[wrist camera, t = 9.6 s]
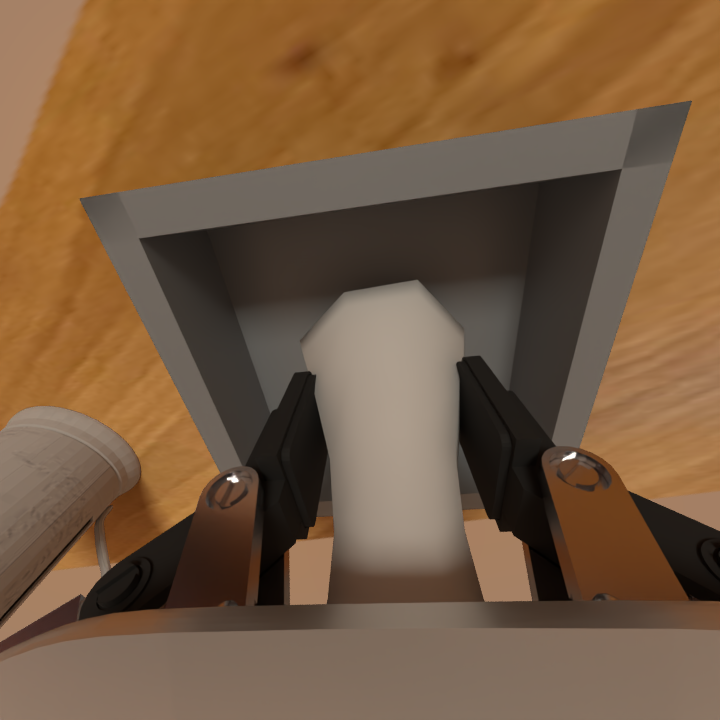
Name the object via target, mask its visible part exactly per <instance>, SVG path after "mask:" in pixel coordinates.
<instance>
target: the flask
mask: <svg viewBox="0 0 720 720" xmlns="http://www.w3.org/2000/svg"><path fill="white" fill-rule="evenodd" d="M300 344H301V348H302V352H303V356H304V359H305V363H306V366H307V369H308V371H310V372H311V373H312V375H315V374H316V382H315V393H314V394H315V398H316V402H317V407H318V411H319V415H320V419H321V423H322V428H323V432H324V436H325V440H326V445H327V449H328V453H329V457H330V470H331V487H332V504H333V521H334V541H333V552H332V561H331V573H330V582H329V593H328V600H327V604H374V603H437V602H485V601H484V599H483V595H482V592H481V588H480V585H479V581H478V577H477V574H476V570H475V566H474V563H473V559H472V556H471V552H470V548H469V545H468V541H467V537H466V534H465V529H464V521H463V513H462V504H461V496H460V488H459V479H458V471H457V470H458V453H459V436H460V378H459V374H458V370H457V366H456V363H457V362H458V361H461V360H462V358H463V357H464V328H463V327H462V326H461V324H460V323H459V322H458V321H457V320H456V319H455V318H454V317H453V316H452V315H451V314H450V313H449V312H448V311H447V310H446V309H445V308H444V307H443V306H442V305H441V304H440V303H439V302H438V301H437V299H436V298H435V297H434V296H433V295H432V294H431V293H430V292H429V291H428V290H427V289H426V288H425V287H424V286H423V285H422V284H421V283H420V282H419V281H418V280H413V281H407V282H401V283H395V284H389V285H383V286H378V287H372V288H366V289H360V290H354V291H348V292H344V293H343V294H342V295H341V296H340V297H339V298H338V299H337V300H336V301H335V302H334V304H333V305H332V306H331V307H330V308H329V309H328V310H327V311H326V312H325V313H324V314H323V316H322V317H321V318H320V319H319V320H318V321H317V322H316V323H315V324H314V325H313V327H312V328H311V329H310V330H309V331H308V332H307V333H306V334H305V335H304V336H303V338H302V339H301V340H300Z"/></svg>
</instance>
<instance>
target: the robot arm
mask: <svg viewBox="0 0 720 720" xmlns="http://www.w3.org/2000/svg"><path fill="white" fill-rule="evenodd" d="M456 366H457V370H458V374H459V378H460V436H459V442H460V445H461V447H462V450H463V453H464V455H465V458H466V461H467V463H468V466H469V468H470V471H471V474H472V476H473V479H474V482H475V484H476V487H477V490H478V492H479V495H480V498H481V500H482V503H483V505H484V508H485V511H486V513H487V516H488V517H489V519H495V520H496V523H497V525H498V528H499V530H500V532H507V531H512V533H513V535H514V536H515V537H517V538H518V539H520V540H521V541H522V545H523V550H524V556H525V562H526V568H527V573H528V579H529V585H530V591H531V596H532V601H513V602H437V603H374V604H322V605H321V604H318V605H290V587H289V586H290V583H289V581H290V580H289V579H290V578H289V549H290V548H291V547H292V546H293V545H294V544H295V543H296V539H307V536H308V531H309V527H314V525H315V522H316V517H317V511H318V505H319V500H320V494H321V488H322V483H323V477H324V471H325V466H326V460H327V455H328V449H327V445H326V440H325V436H324V432H323V428H322V423H321V419H320V415H319V411H318V407H317V402H316V398H315V394H314V393H315V382H316V374H315V375H312V373H311V372H310V371H305V372H295V373H294V374H293V377H292V379H291V381H290V383H289V385H288V387H287V389H286V391H285V394H284V396H283V398H282V400H281V402H280V404H279V406H278V408H277V409H275V410H273V411H272V412H271V414H270V416H269V418H268V420H267V422H266V424H265V426H264V428H263V430H262V432H261V434H260V436H259V438H258V440H257V442H256V444H255V446H254V449H253V451H252V453H251V455H250V457H249V459H248V461H247V463H246V465H245V466H238V467H233V468H231V469H228V470H225V471H224V472H222V473H220V474H219V475H217V476H216V477H215V478H213V479H212V480H211V481H210V482H209V483H208V484H207V486H206V487H205V488H204V489H203V491H202V493H201V495H200V498H199V501H198V504H197V507H196V510H195V512H194V513H192V514H191V515H189V516H188V517H186V518H185V519H183V520H182V521H180V522H179V523H177V524H176V525H174V526H173V527H171V528H170V529H168V530H167V531H165V532H164V533H162V534H161V535H159V536H158V537H156V538H155V539H153V540H152V541H150V542H149V543H147V544H146V545H144V546H143V547H141V548H140V549H138V550H137V551H135V552H134V553H132V554H131V555H129V556H128V557H126V558H125V559H123V560H122V561H120V562H119V563H118V564H116V565H115V566H114V567H113V568H111V569H110V570H109V571H107V572H106V573H105V574H104V575H103V576H102V578H101V579H100V580H99V581H98V582H97V583H96V584H95V585H94V587H93V588H92V589H91V591H90V592H89V593H88V595H87V597H86V598H85V597H83V595H81V594H80V595H79V596H77V597H75V598H74V599H72V600H70V601H69V602H67V603H65V604H63V605H62V606H60V607H59V608H57V609H55V610H53V611H52V612H50V613H48V614H47V615H45V616H43V617H42V618H40V619H38V620H37V621H35V622H33V623H32V624H30V625H28V626H26V627H25V628H23V629H21V630H20V631H18V632H17V633H15V634H13V635H11V636H10V637H8V638H7V639H5V640H3V641H1V642H0V720H720V531H718V530H716V529H714V528H711V527H709V526H707V525H704V524H702V523H700V522H698V521H695V520H693V519H691V518H688V517H686V516H684V515H682V514H679V513H677V512H675V511H673V510H670V509H668V508H666V507H664V506H661V505H659V504H657V503H655V502H652V501H650V500H648V499H646V498H643V497H641V496H639V495H637V494H634V493H632V492H630V491H627V489H626V487H625V485H624V484H623V482H622V480H621V478H620V477H619V475H618V474H617V472H616V471H615V470H614V468H613V467H612V466H611V465H610V464H608V463H607V462H606V461H605V460H603V459H602V458H600V457H598V456H597V455H595V454H593V453H591V452H588V451H585V450H583V449H580V448H575V447H570V446H557V447H556V445H555V444H554V443H553V442H552V440H551V439H550V438H549V436H548V435H547V434H546V433H545V431H544V430H543V429H542V427H541V426H540V425H539V424H538V422H537V421H536V420H535V419H534V417H533V416H532V415H531V413H530V412H529V411H528V410H527V408H526V407H525V406H524V404H523V403H522V402H521V401H520V399H519V398H518V397H517V395H516V394H515V393H514V392H513V391H510V390H506V389H505V388H504V386H503V385H502V384H501V382H500V381H499V380H498V378H497V377H496V376H495V374H494V373H493V372H492V370H491V369H490V368H489V366H488V365H487V364H486V362H485V361H484V360H483V358H482V357H481V356H468V357H463V358H462V360H461V361H458V362H457V363H456Z"/></svg>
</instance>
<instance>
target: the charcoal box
mask: <svg viewBox="0 0 720 720" xmlns="http://www.w3.org/2000/svg"><path fill="white" fill-rule="evenodd" d="M691 102H692V101H686V102H680V103H674V104H668V105H661V106H655V107H649V108H643V109H636V110H630V111H624V112H618V113H611V114H605V115H599V116H593V117H586V118H580V119H574V120H568V121H561V122H555V123H549V124H543V125H536V126H530V127H524V128H518V129H511V130H505V131H499V132H493V133H486V134H480V135H474V136H468V137H461V138H455V139H449V140H443V141H436V142H430V143H424V144H418V145H411V146H405V147H399V148H393V149H386V150H380V151H374V152H368V153H361V154H355V155H349V156H343V157H336V158H330V159H324V160H318V161H311V162H305V163H299V164H293V165H286V166H280V167H274V168H268V169H261V170H255V171H249V172H243V173H236V174H230V175H224V176H217V177H211V178H205V179H199V180H192V181H186V182H180V183H174V184H167V185H161V186H155V187H149V188H142V189H136V190H130V191H124V192H117V193H111V194H105V195H99V196H92V197H86V198H80V201H81V203H82V205H83V207H84V209H85V211H86V213H87V215H88V217H89V219H90V221H91V223H92V225H93V226H94V228H95V230H96V232H97V234H98V236H99V238H100V240H101V242H102V244H103V246H104V248H105V250H106V252H107V254H108V256H109V258H110V259H111V261H112V263H113V265H114V267H115V269H116V271H117V273H118V275H119V277H120V279H121V281H122V283H123V285H124V287H125V289H126V291H127V292H128V294H129V296H130V298H131V300H132V302H133V304H134V306H135V308H136V310H137V312H138V314H139V316H140V318H141V320H142V322H143V324H144V326H145V327H146V329H147V331H148V333H149V335H150V337H151V339H152V341H153V343H154V345H155V347H156V349H157V351H158V353H159V355H160V357H161V359H162V360H163V362H164V364H165V366H166V368H167V370H168V372H169V374H170V376H171V378H172V380H173V382H174V384H175V386H176V388H177V390H178V392H179V393H180V395H181V397H182V399H183V401H184V403H185V405H186V407H187V409H188V411H189V413H190V415H191V417H192V419H193V421H194V423H195V425H196V427H197V428H198V430H199V432H200V434H201V436H202V438H203V440H204V442H205V444H206V446H207V448H208V450H209V452H210V454H211V456H212V458H213V460H214V461H215V463H216V465H217V467H218V469H219V471H220V473H222V472H224V471H225V470H228V469H231V468H233V467H238V466H245V465H246V463H247V461H248V459H249V457H250V455H251V453H252V451H253V449H254V446H255V444H256V442H257V440H258V438H259V436H260V434H261V432H262V430H263V428H264V426H265V424H266V422H267V420H268V418H269V416H270V414H271V412H272V411H273V410H275V409H277V408H278V406H279V404H280V402H281V400H282V398H283V396H284V394H285V391H286V389H287V387H288V385H289V383H290V381H291V379H292V377H293V374H294V373H295V372H305V371H308V369H307V366H306V363H305V359H304V356H303V352H302V348H301V344H300V340H301V339H302V338H303V336H304V335H305V334H306V333H307V332H308V331H309V330H310V329H311V328H312V327H313V325H314V324H315V323H316V322H317V321H318V320H319V319H320V318H321V317H322V316H323V314H324V313H325V312H326V311H327V310H328V309H329V308H330V307H331V306H332V305H333V304H334V302H335V301H336V300H337V299H338V298H339V297H340V296H341V295H342V294H343V293H344V292H348V291H354V290H360V289H366V288H372V287H378V286H383V285H389V284H395V283H401V282H407V281H413V280H418V281H419V282H420V283H421V284H422V285H423V286H424V287H425V288H426V289H427V290H428V291H429V292H430V293H431V294H432V295H433V296H434V297H435V298H436V299H437V301H438V302H439V303H440V304H441V305H442V306H443V307H444V308H445V309H446V310H447V311H448V312H449V313H450V314H451V315H452V316H453V317H454V318H455V319H456V320H457V321H458V322H459V323H460V324H461V326H462V327H463V328H464V357H468V356H481V357H482V358H483V360H484V361H485V362H486V364H487V365H488V366H489V368H490V369H491V370H492V372H493V373H494V374H495V376H496V377H497V378H498V380H499V381H500V382H501V384H502V385H503V386H504V388H505V389H506V390H510V391H513V392H514V393H515V394H516V395H517V397H518V398H519V399H520V401H521V402H522V403H523V404H524V406H525V407H526V408H527V410H528V411H529V412H530V413H531V415H532V416H533V417H534V419H535V420H536V421H537V422H538V424H539V425H540V426H541V427H542V429H543V430H544V431H545V433H546V434H547V435H548V436H549V438H550V439H551V440H552V442H553V443H554V444H555V445H556V447H557V446H570V447H575V448H579V447H580V444H581V441H582V438H583V435H584V432H585V429H586V426H587V422H588V419H589V416H590V413H591V410H592V407H593V404H594V401H595V398H596V395H597V392H598V389H599V386H600V382H601V379H602V376H603V373H604V370H605V367H606V364H607V361H608V358H609V355H610V352H611V349H612V346H613V342H614V339H615V336H616V333H617V330H618V327H619V324H620V321H621V318H622V315H623V312H624V309H625V306H626V302H627V299H628V296H629V293H630V290H631V287H632V284H633V281H634V278H635V275H636V272H637V269H638V265H639V262H640V259H641V256H642V253H643V250H644V247H645V244H646V241H647V238H648V235H649V232H650V229H651V225H652V222H653V219H654V216H655V213H656V210H657V207H658V204H659V201H660V198H661V195H662V192H663V189H664V185H665V182H666V179H667V176H668V173H669V170H670V167H671V164H672V161H673V158H674V155H675V152H676V149H677V145H678V142H679V139H680V136H681V133H682V130H683V127H684V124H685V121H686V118H687V115H688V112H689V109H690V105H691ZM457 471H458V479H459V488H460V496H461V504H462V510H467V509H485V508H484V505H483V503H482V500H481V498H480V495H479V492H478V490H477V487H476V484H475V482H474V479H473V476H472V474H471V471H470V468H469V466H468V463H467V461H466V458H465V455H464V453H463V450H462V447H461V445H460V442H459V453H458V470H457ZM325 516H333V504H332V487H331V470H330V457H329V453H328V455H327V460H326V466H325V471H324V477H323V483H322V488H321V494H320V500H319V505H318V511H317V517H325Z"/></svg>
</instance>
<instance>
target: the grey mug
mask: <svg viewBox="0 0 720 720" xmlns="http://www.w3.org/2000/svg"><path fill="white" fill-rule="evenodd" d="M140 474H141V469H140V463H139V461H138V458H137V456H136V454H135V453H134V451H133V449H132V448H131V447H130V446H129V445H128V443H127V442H126V441H125V440H124V439H123V438H121V437H120V436H119V435H118V434H117V433H116V432H114V431H113V430H111V429H110V428H109V427H107V426H106V425H104V424H102V423H100V422H99V421H97V420H95V419H93V418H91V417H88V416H86V415H84V414H81V413H78V412H75V411H72V410H68V409H64V408H60V407H51V406H36V407H31V408H26V409H24V410H22V411H20V412H18V413H17V414H16V415H15V416H13V417H12V418H11V419H10V421H9V422H8V424H7V425H6V427H5V428H4V429H3V430H2V431H0V628H1V627H2V626H3V625H4V624H5V622H6V621H7V620H8V619H9V618H10V617H11V616H12V614H13V613H14V612H15V611H16V610H17V609H18V608H19V606H21V604H22V603H23V602H24V601H25V600H26V599H27V598H28V596H29V595H30V594H31V593H32V592H33V591H34V590H35V588H36V587H37V586H38V585H39V584H40V583H41V582H42V581H43V579H44V578H45V577H46V576H47V575H48V574H49V573H50V572H51V570H52V569H53V568H54V567H55V566H56V565H57V564H58V562H59V561H60V560H61V559H62V558H63V557H64V556H65V555H66V553H67V552H68V551H69V550H70V549H71V548H72V547H73V545H74V544H75V543H76V542H77V541H78V540H79V539H80V538H81V536H82V535H83V534H84V533H85V532H86V531H87V530H88V529H89V527H90V526H91V525H92V524H93V523H94V522H95V521H96V523H95V528H94V532H95V545H96V551H97V557H98V562H99V567H100V571H101V578H102V576H103V575H104V574H105V573H106V572H107V571H109V570H110V569H111V566H110V561H109V556H108V551H107V545H106V540H105V531H104V520H105V518H106V516H107V515H108V513H109V512H110V511H111V510H112V508H113V505H110V504H111V502H112V501H113V500H115V499H116V498H117V497H118V496H119V495H121V494H123V493H125V492H127V491H128V490H130V489H131V488H133V487H134V486H135V485H136V484H137V482H138V480H139V478H140ZM109 505H110V506H109ZM96 519H97V520H96Z"/></svg>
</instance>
